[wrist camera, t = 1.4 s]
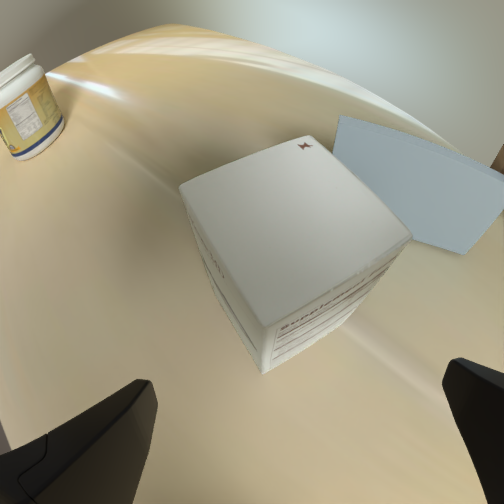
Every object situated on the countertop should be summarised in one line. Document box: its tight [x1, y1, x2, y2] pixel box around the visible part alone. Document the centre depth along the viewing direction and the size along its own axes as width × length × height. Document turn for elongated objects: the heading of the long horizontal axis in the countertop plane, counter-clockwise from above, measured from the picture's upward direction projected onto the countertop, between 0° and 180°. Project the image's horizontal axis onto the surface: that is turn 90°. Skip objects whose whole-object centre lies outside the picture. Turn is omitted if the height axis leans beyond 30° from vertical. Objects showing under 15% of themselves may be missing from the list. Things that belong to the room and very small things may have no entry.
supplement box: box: [179, 135, 413, 374], centre depth 16 cm, size 7×7×13 cm
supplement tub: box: [0, 54, 64, 161], centre depth 31 cm, size 12×12×17 cm
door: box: [332, 115, 504, 255], centre depth 21 cm, size 16×2×10 cm, turn 73°
